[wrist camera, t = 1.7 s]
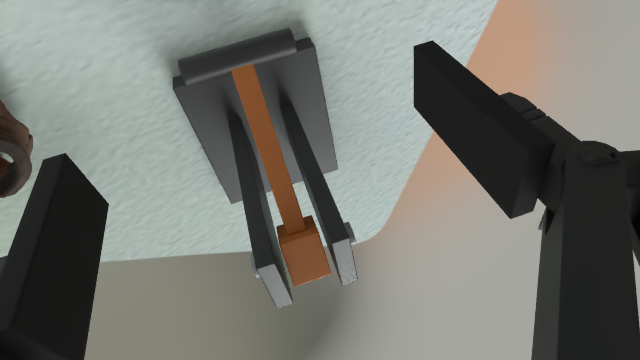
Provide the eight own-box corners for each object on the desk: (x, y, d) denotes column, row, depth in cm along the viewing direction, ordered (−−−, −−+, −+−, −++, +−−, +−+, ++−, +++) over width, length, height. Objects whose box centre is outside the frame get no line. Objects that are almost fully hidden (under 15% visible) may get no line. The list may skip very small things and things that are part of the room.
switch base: (172, 77, 27) (173, 241, 17) (309, 37, 28) (393, 169, 17) (229, 192, 35) (254, 349, 25) (333, 159, 36) (399, 297, 26)
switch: (181, 59, 19) (172, 60, 17) (287, 28, 20) (292, 25, 18) (264, 273, 24) (266, 297, 22) (349, 245, 24) (359, 264, 22)
